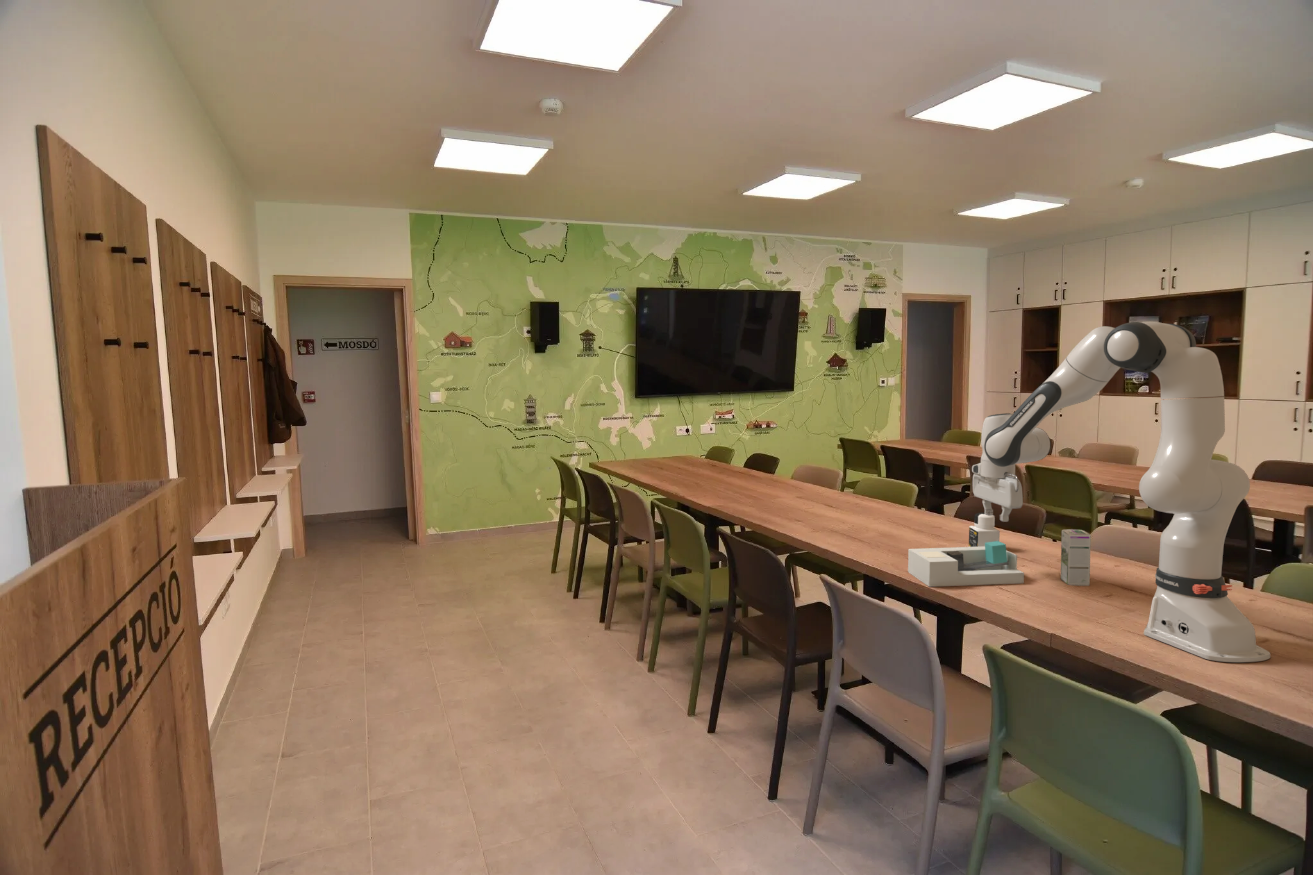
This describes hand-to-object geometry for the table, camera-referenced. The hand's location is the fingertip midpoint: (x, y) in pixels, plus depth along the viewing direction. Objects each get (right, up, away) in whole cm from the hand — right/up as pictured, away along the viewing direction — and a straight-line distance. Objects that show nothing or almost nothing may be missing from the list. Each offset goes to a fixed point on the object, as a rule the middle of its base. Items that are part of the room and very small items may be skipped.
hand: (996, 518), depth 199 cm
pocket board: (-9, -17, +1) cm, 19 cm away
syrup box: (+19, -18, -5) cm, 27 cm away
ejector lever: (-5, -14, +1) cm, 15 cm away
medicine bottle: (+11, -14, +31) cm, 36 cm away
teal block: (+1, -13, +1) cm, 13 cm away
